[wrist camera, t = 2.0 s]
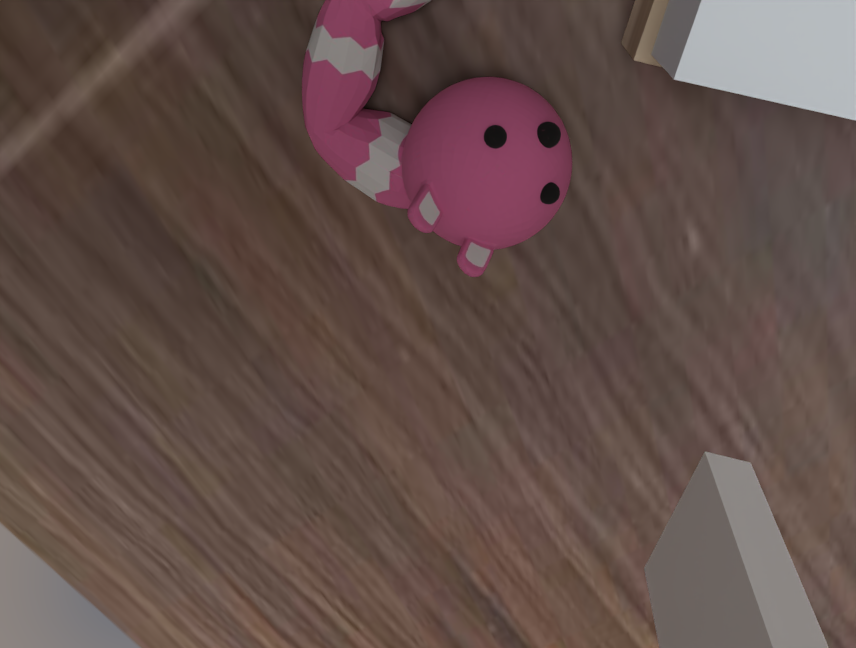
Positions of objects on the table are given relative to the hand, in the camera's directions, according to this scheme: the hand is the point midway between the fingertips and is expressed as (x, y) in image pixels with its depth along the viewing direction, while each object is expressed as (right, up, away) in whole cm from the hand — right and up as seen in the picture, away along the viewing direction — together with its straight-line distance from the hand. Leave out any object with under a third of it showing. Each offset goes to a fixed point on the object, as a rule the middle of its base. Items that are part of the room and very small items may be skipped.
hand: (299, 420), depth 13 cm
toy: (+3, +11, +17) cm, 20 cm away
